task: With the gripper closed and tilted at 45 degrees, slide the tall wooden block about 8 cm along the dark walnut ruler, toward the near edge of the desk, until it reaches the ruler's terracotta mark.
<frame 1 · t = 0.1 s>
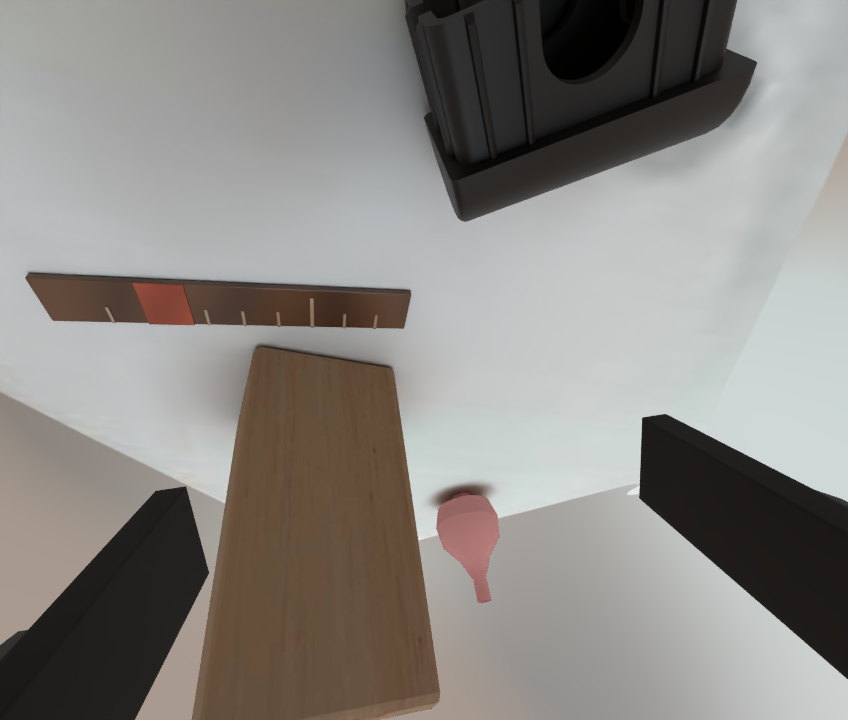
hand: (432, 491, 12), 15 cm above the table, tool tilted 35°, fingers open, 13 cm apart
end cap: (528, 50, 17), on the table
ruler: (242, 302, 25), on the table
wooden block: (313, 394, 33), on the table
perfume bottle: (460, 494, 53), on the table
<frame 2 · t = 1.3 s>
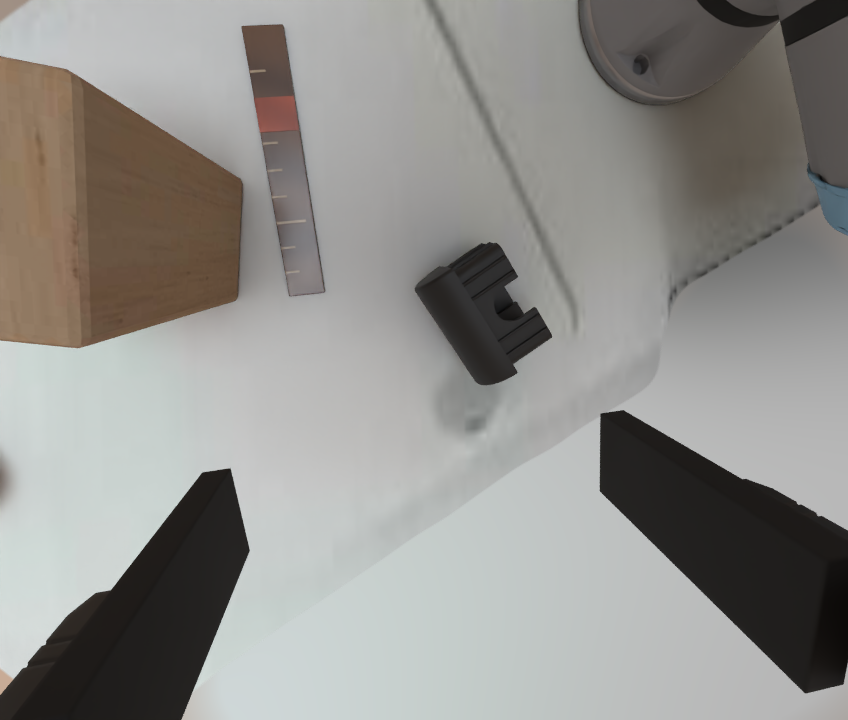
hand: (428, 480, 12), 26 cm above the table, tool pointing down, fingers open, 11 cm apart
end cap: (470, 309, 38), on the table
ruler: (287, 170, 33), on the table
wooden block: (177, 233, 34), on the table
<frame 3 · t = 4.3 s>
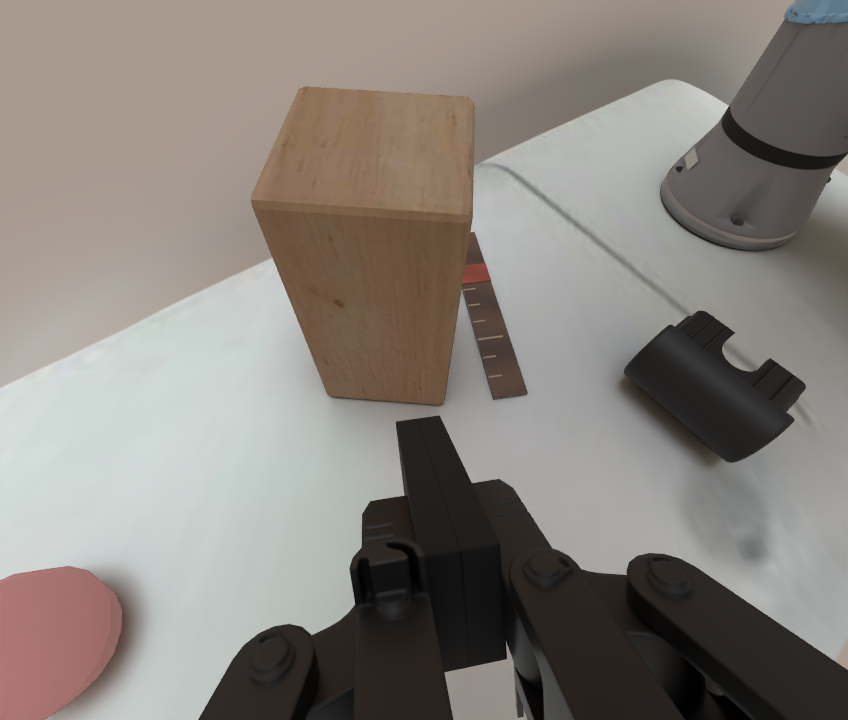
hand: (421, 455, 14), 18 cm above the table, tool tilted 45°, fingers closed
end cap: (679, 405, 36), on the table
ruler: (482, 306, 41), on the table
wooden block: (391, 354, 38), on the table
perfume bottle: (81, 638, 26), on the table
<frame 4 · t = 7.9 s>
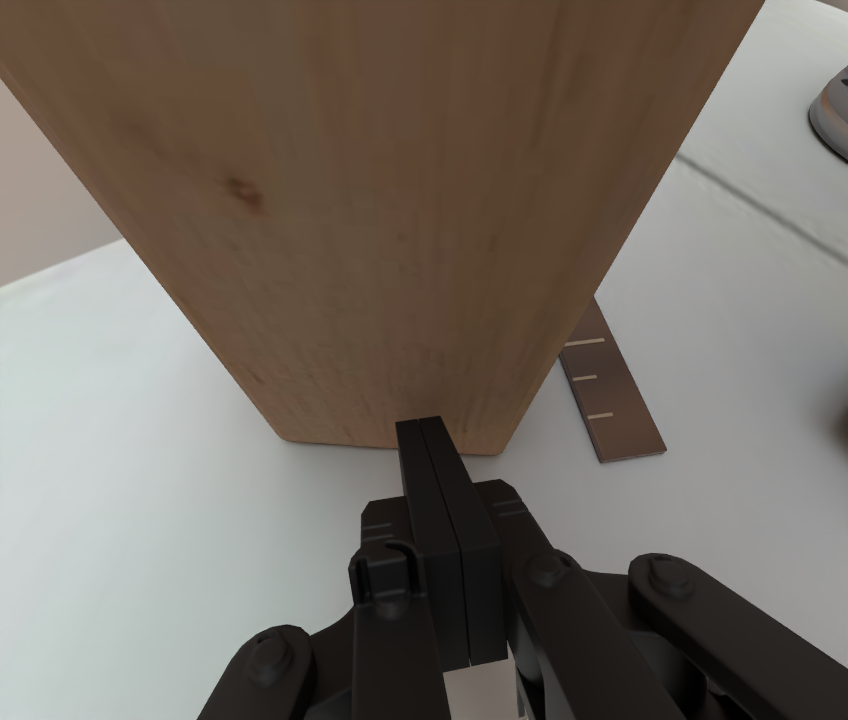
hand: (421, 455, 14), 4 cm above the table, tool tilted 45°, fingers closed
ruler: (559, 288, 23), on the table
wooden block: (400, 358, 21), on the table, touching gripper
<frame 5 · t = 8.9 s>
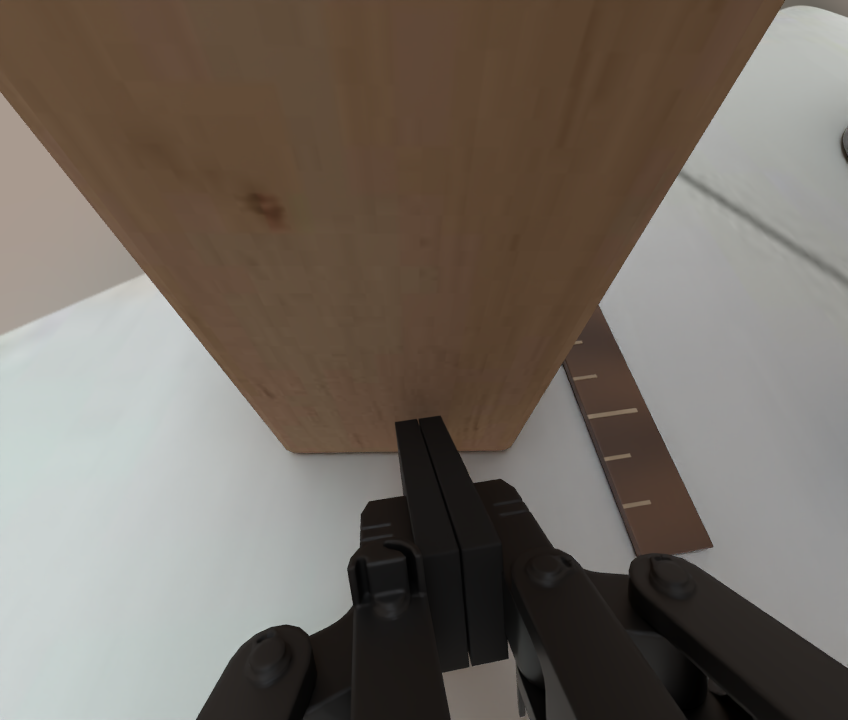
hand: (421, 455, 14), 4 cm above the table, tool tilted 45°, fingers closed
ruler: (584, 346, 21), on the table
wooden block: (400, 360, 21), on the table, touching gripper
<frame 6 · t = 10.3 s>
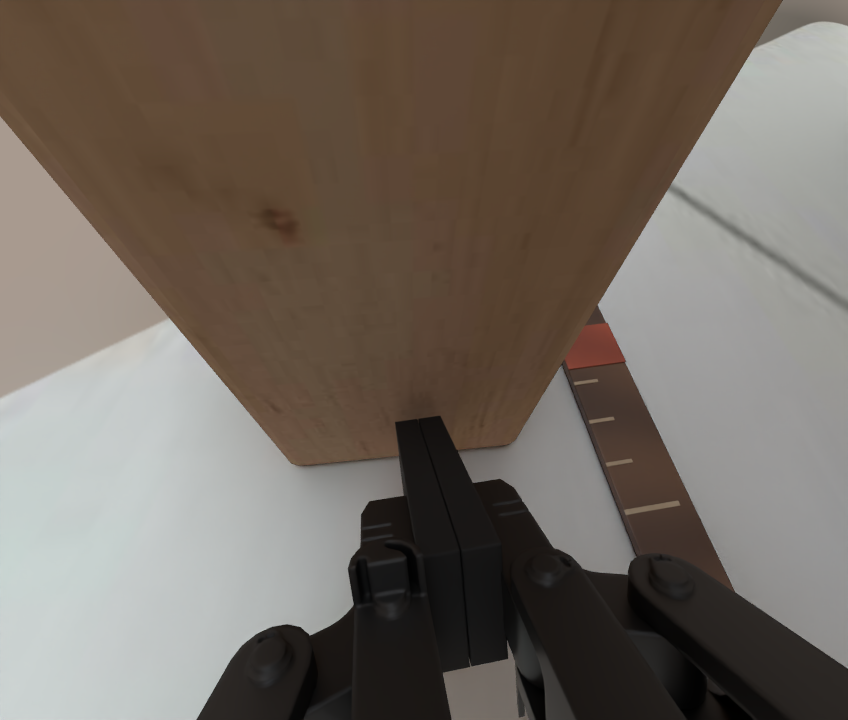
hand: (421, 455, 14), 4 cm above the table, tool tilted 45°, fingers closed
ruler: (615, 421, 19), on the table
wooden block: (397, 364, 21), on the table, touching gripper
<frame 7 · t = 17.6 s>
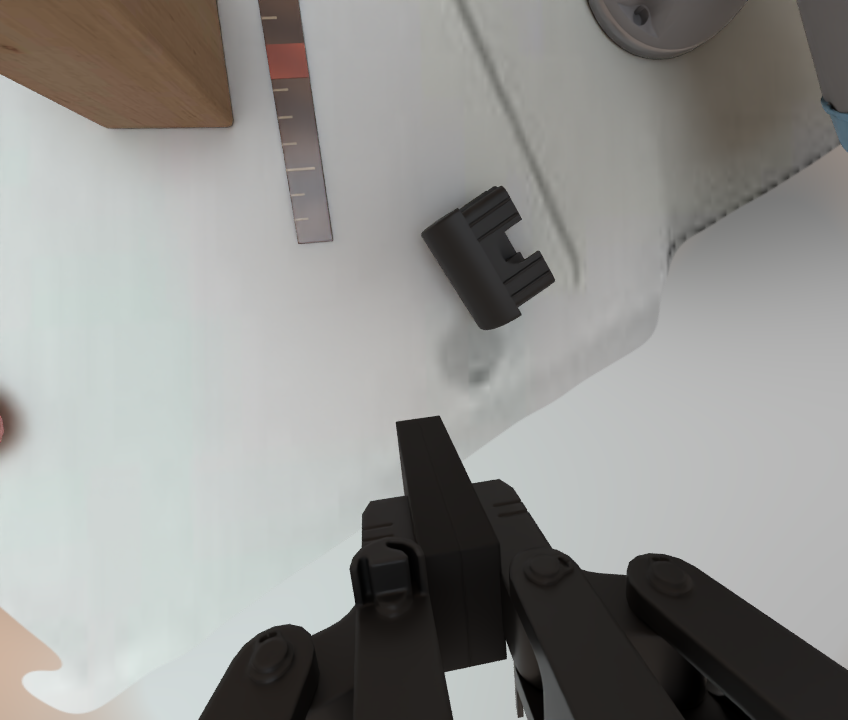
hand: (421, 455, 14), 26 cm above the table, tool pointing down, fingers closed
end cap: (474, 260, 39), on the table
ruler: (296, 118, 34), on the table
wooden block: (160, 59, 32), on the table
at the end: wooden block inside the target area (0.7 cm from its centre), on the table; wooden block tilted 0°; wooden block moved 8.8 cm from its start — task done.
